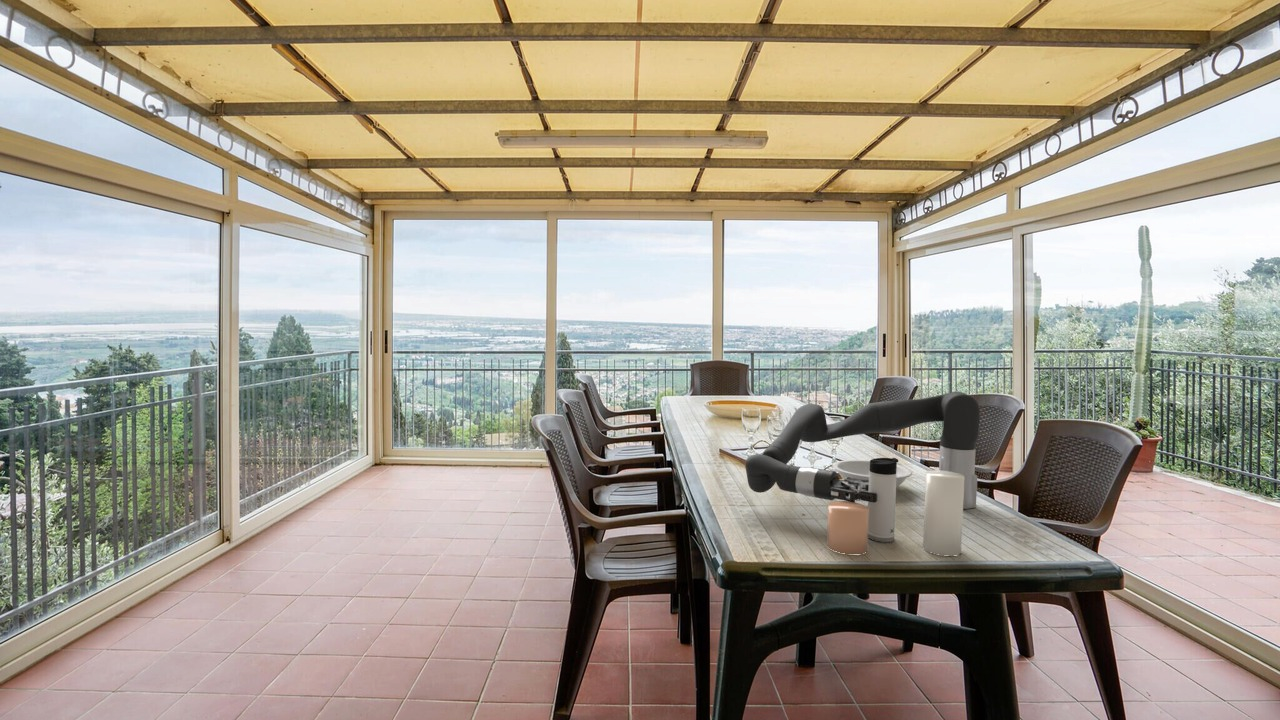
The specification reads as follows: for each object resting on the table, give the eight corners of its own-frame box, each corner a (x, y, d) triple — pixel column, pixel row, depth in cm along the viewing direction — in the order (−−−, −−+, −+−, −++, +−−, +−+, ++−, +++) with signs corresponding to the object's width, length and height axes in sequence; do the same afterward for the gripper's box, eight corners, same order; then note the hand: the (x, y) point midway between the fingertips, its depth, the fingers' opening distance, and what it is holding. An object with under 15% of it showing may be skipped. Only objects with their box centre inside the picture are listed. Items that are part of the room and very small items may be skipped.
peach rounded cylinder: (861, 542, 143) (863, 501, 142) (871, 556, 134) (873, 513, 133) (823, 540, 144) (824, 500, 143) (831, 554, 135) (832, 511, 134)
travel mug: (899, 543, 142) (903, 461, 141) (872, 542, 142) (875, 461, 141) (889, 533, 149) (892, 455, 147) (863, 533, 149) (865, 455, 147)
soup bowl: (917, 486, 194) (918, 466, 194) (903, 503, 174) (904, 481, 174) (843, 475, 208) (844, 456, 207) (822, 490, 188) (823, 469, 187)
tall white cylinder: (952, 544, 142) (955, 471, 141) (966, 557, 134) (970, 479, 133) (917, 542, 143) (920, 469, 141) (930, 555, 135) (933, 478, 134)
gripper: (807, 474, 149) (874, 485, 139) (826, 464, 160) (889, 473, 150) (806, 503, 149) (873, 516, 139) (825, 491, 161) (888, 502, 151)
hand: (881, 494), depth 145 cm, fingers open, 8 cm apart
